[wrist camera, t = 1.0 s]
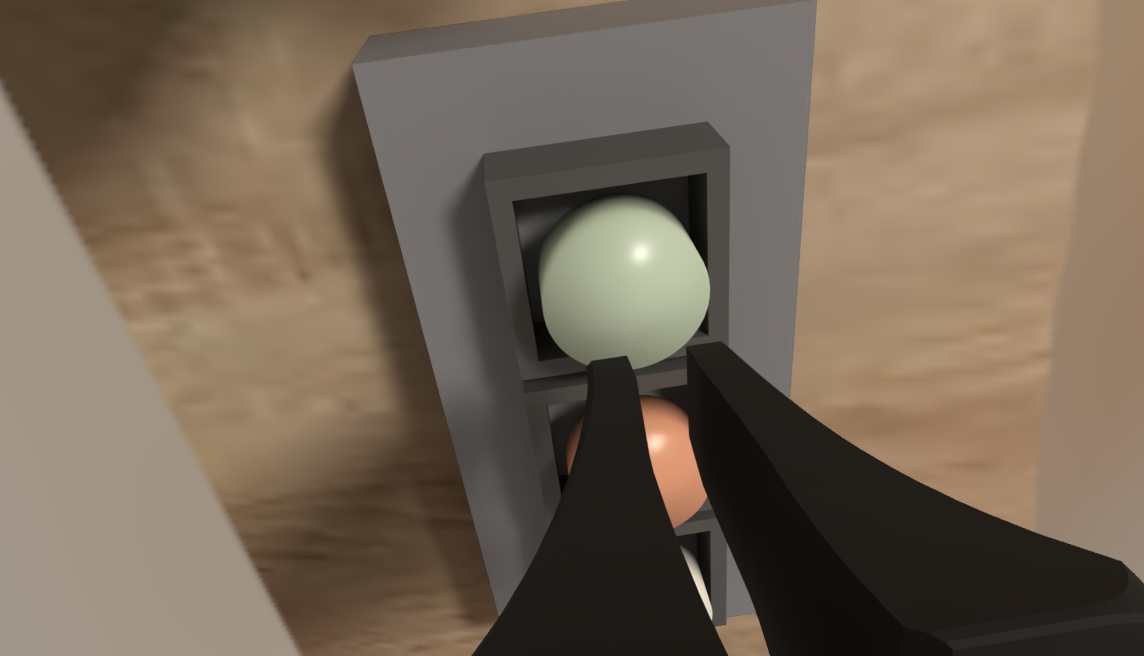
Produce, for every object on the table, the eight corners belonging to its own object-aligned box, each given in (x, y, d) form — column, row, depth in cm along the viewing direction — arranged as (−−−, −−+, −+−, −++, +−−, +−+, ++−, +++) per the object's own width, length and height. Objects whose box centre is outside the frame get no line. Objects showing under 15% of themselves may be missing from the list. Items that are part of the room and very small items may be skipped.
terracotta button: (697, 483, 21) (711, 526, 20) (573, 503, 21) (579, 547, 19) (694, 384, 19) (711, 424, 18) (558, 406, 19) (564, 447, 18)
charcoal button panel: (750, 546, 30) (793, 653, 25) (506, 585, 29) (510, 700, 25) (770, -19, 18) (853, 13, 14) (369, 36, 18) (337, 86, 14)
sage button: (693, 320, 18) (710, 357, 17) (548, 342, 18) (553, 382, 16) (690, 182, 16) (709, 211, 15) (527, 206, 16) (531, 238, 14)
